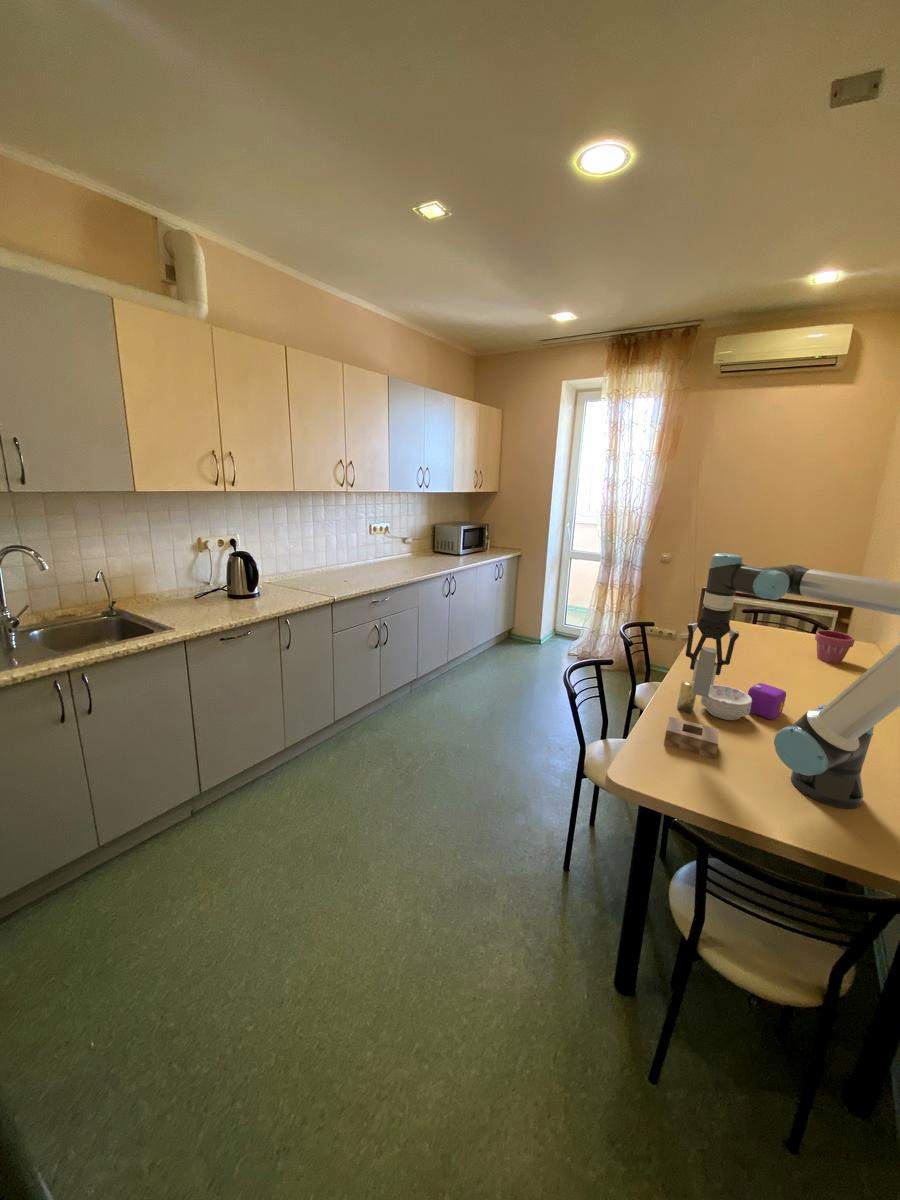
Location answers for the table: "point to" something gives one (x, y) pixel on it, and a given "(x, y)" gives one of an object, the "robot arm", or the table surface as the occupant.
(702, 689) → the square bit
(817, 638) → the plant pot
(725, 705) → the paper bowls
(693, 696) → the cylinder
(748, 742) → the table surface
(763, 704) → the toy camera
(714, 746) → the bore block
